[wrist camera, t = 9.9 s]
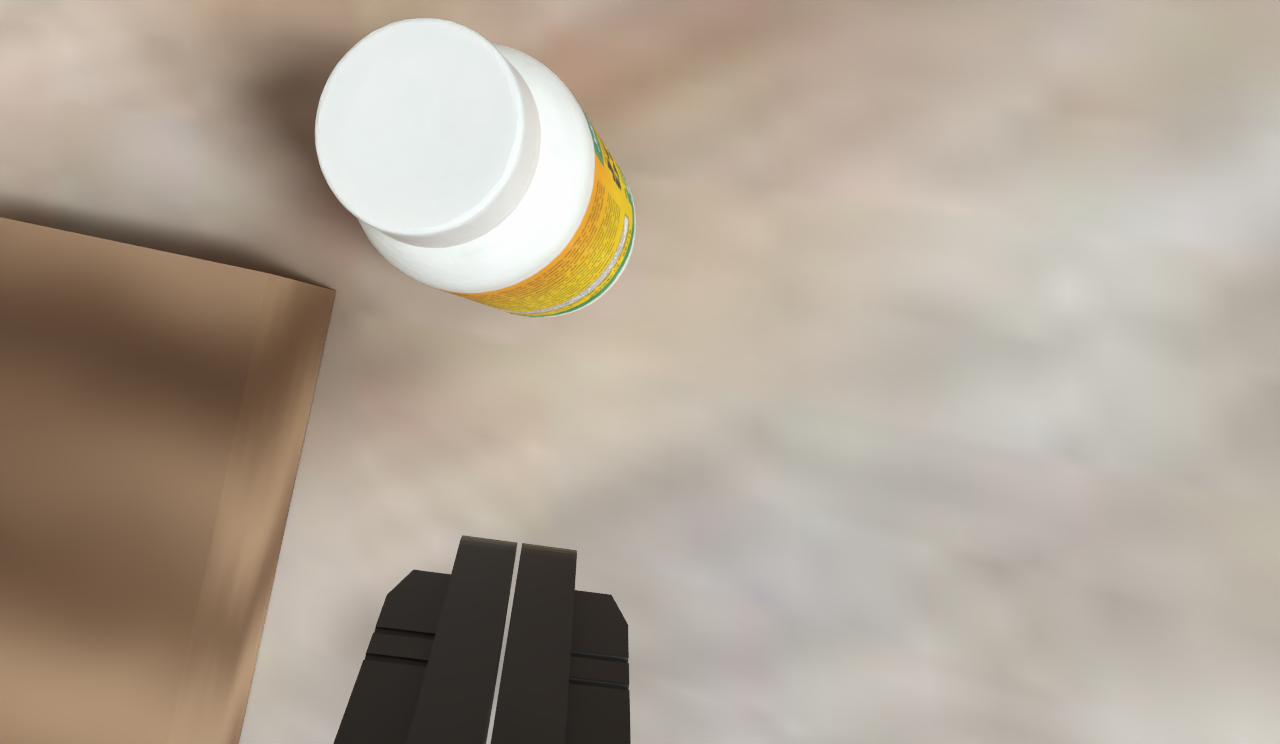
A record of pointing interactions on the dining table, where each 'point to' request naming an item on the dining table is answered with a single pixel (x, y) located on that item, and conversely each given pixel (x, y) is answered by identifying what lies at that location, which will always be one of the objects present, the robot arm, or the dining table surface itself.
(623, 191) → the supplement bottle
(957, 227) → the dining table surface
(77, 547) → the board
